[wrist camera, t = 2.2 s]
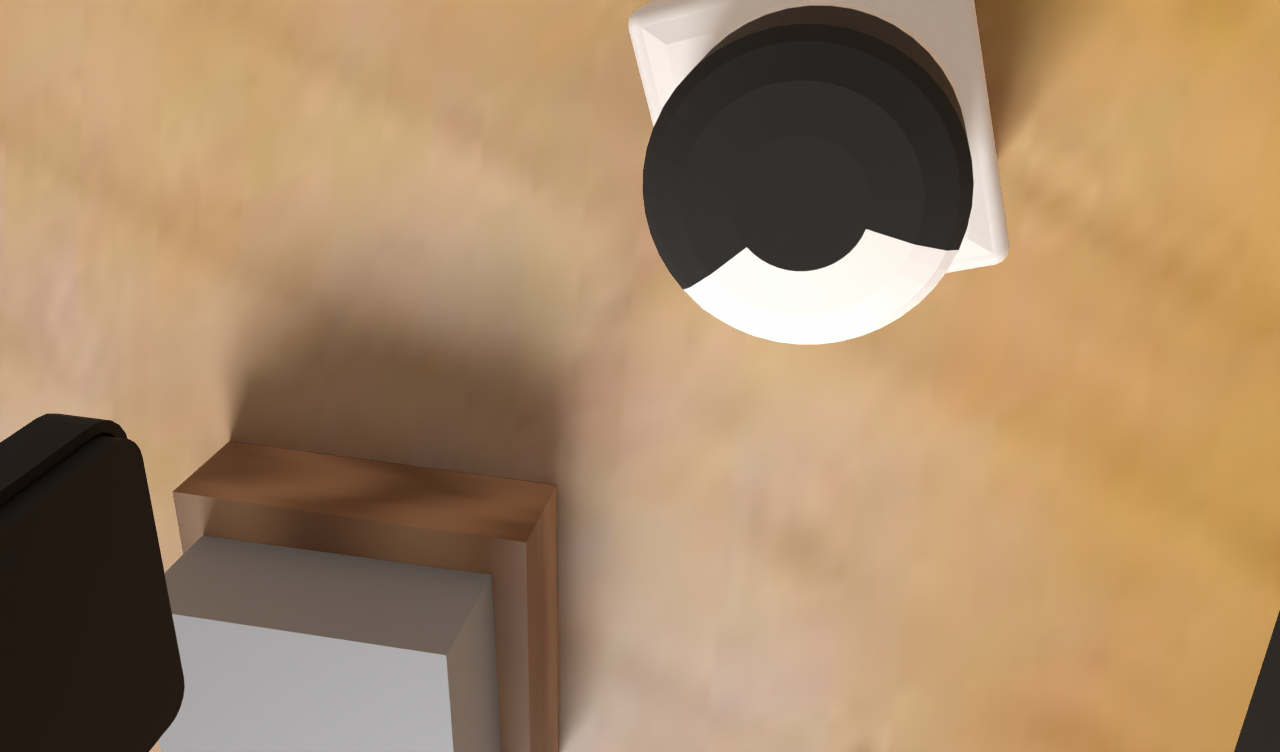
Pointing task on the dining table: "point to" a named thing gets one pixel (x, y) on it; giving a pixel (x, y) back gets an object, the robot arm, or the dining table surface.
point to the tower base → (407, 545)
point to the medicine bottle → (817, 157)
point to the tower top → (330, 653)
